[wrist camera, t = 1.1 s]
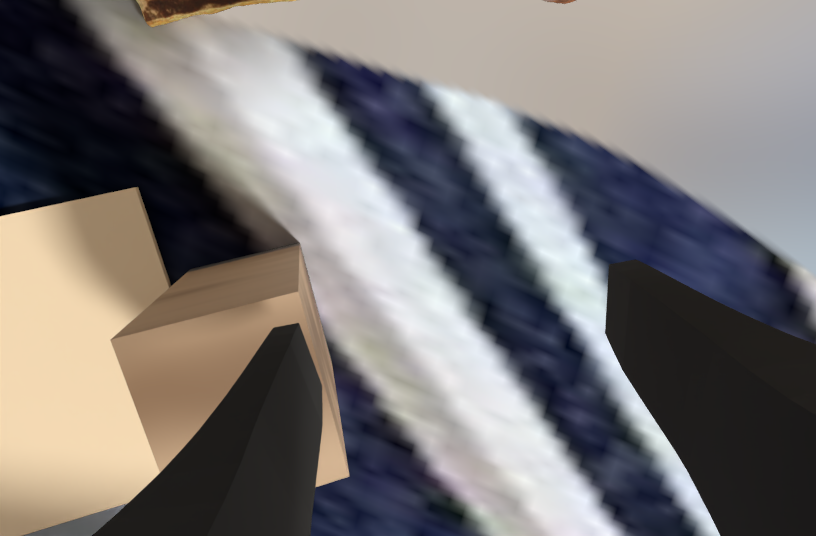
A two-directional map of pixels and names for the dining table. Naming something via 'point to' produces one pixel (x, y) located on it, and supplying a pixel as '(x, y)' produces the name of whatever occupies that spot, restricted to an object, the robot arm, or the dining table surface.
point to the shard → (188, 8)
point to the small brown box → (222, 348)
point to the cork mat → (72, 358)
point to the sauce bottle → (560, 1)
